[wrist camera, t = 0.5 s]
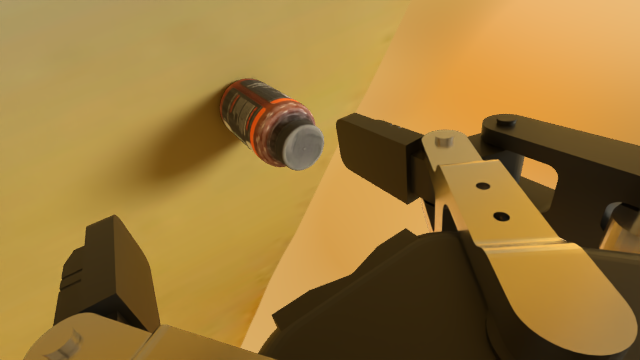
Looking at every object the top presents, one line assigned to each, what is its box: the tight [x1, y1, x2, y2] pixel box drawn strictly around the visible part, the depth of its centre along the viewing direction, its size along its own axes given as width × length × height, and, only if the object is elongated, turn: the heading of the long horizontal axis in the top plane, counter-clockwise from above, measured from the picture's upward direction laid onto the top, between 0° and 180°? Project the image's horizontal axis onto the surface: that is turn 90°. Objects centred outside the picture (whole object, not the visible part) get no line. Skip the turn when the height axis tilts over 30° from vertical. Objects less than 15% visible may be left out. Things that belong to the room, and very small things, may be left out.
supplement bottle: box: [220, 79, 324, 171], centre depth 28 cm, size 6×6×11 cm
